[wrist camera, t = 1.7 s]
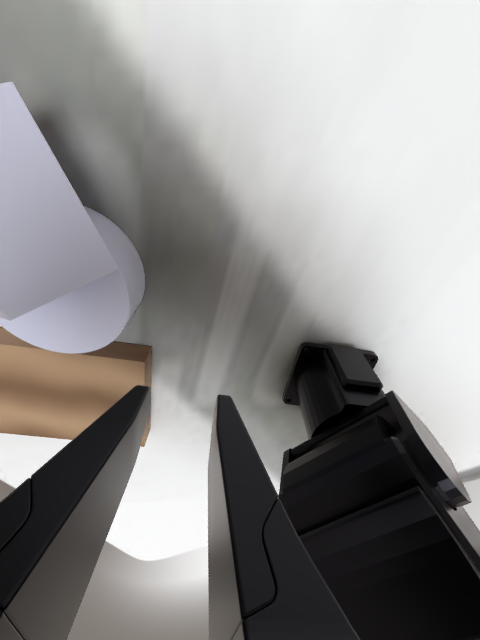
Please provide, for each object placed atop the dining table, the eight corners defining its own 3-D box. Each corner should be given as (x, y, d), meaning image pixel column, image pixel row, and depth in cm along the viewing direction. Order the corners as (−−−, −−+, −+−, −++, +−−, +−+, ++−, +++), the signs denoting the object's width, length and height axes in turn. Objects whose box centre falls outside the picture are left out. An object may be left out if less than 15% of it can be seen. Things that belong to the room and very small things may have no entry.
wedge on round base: (-79, 159, 16) (63, 340, 22) (-266, 159, 10) (0, 405, 16) (57, 97, 14) (166, 308, 21) (-65, 54, 8) (139, 366, 15)
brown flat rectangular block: (149, 428, 27) (144, 446, 25) (-73, 405, 25) (-96, 423, 23) (151, 346, 22) (144, 362, 20) (-126, 309, 20) (-160, 324, 18)
